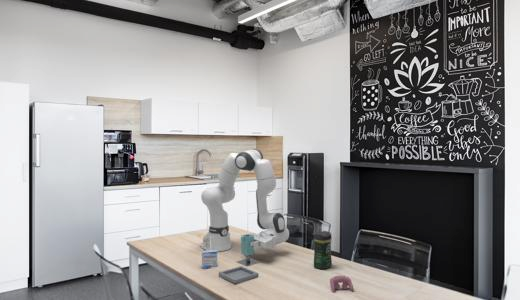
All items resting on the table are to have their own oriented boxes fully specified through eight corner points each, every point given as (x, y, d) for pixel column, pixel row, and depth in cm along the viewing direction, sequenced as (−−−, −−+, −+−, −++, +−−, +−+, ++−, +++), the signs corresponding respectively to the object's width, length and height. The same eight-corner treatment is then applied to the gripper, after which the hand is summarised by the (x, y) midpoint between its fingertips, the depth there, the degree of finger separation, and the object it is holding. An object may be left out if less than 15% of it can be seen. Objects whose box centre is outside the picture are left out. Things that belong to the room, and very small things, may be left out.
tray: (218, 276, 178) (218, 272, 178) (241, 269, 186) (241, 266, 186) (235, 284, 167) (235, 280, 167) (258, 277, 176) (258, 273, 176)
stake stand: (235, 263, 197) (235, 253, 197) (249, 259, 204) (249, 250, 204) (246, 267, 190) (246, 258, 190) (261, 263, 196) (260, 254, 196)
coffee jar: (324, 271, 183) (323, 234, 183) (311, 267, 189) (310, 232, 188) (334, 266, 190) (334, 231, 190) (321, 263, 196) (321, 229, 195)
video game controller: (351, 292, 160) (349, 275, 163) (354, 291, 156) (352, 274, 159) (330, 292, 160) (328, 276, 163) (332, 292, 156) (330, 275, 159)
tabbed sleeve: (239, 254, 196) (239, 235, 196) (248, 251, 200) (248, 233, 200) (244, 256, 192) (244, 237, 192) (254, 253, 197) (253, 235, 196)
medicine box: (202, 269, 188) (202, 252, 188) (201, 266, 193) (201, 250, 193) (217, 267, 191) (217, 251, 190) (216, 264, 195) (216, 249, 195)
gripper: (254, 229, 213) (235, 233, 204) (277, 236, 197) (257, 241, 188) (254, 240, 213) (235, 244, 204) (277, 248, 197) (258, 253, 188)
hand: (246, 243), depth 196 cm, fingers closed on tabbed sleeve, 5 cm apart
